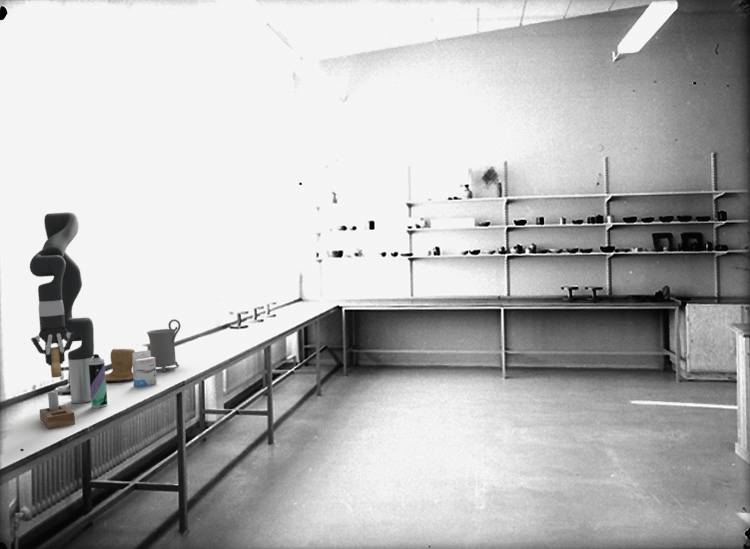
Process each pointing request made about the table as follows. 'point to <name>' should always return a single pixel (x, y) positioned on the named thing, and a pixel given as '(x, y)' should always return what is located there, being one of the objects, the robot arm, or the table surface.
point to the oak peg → (55, 362)
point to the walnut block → (57, 417)
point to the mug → (163, 345)
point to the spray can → (97, 382)
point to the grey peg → (53, 400)
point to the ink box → (143, 368)
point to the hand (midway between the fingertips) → (55, 364)
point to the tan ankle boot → (121, 365)
